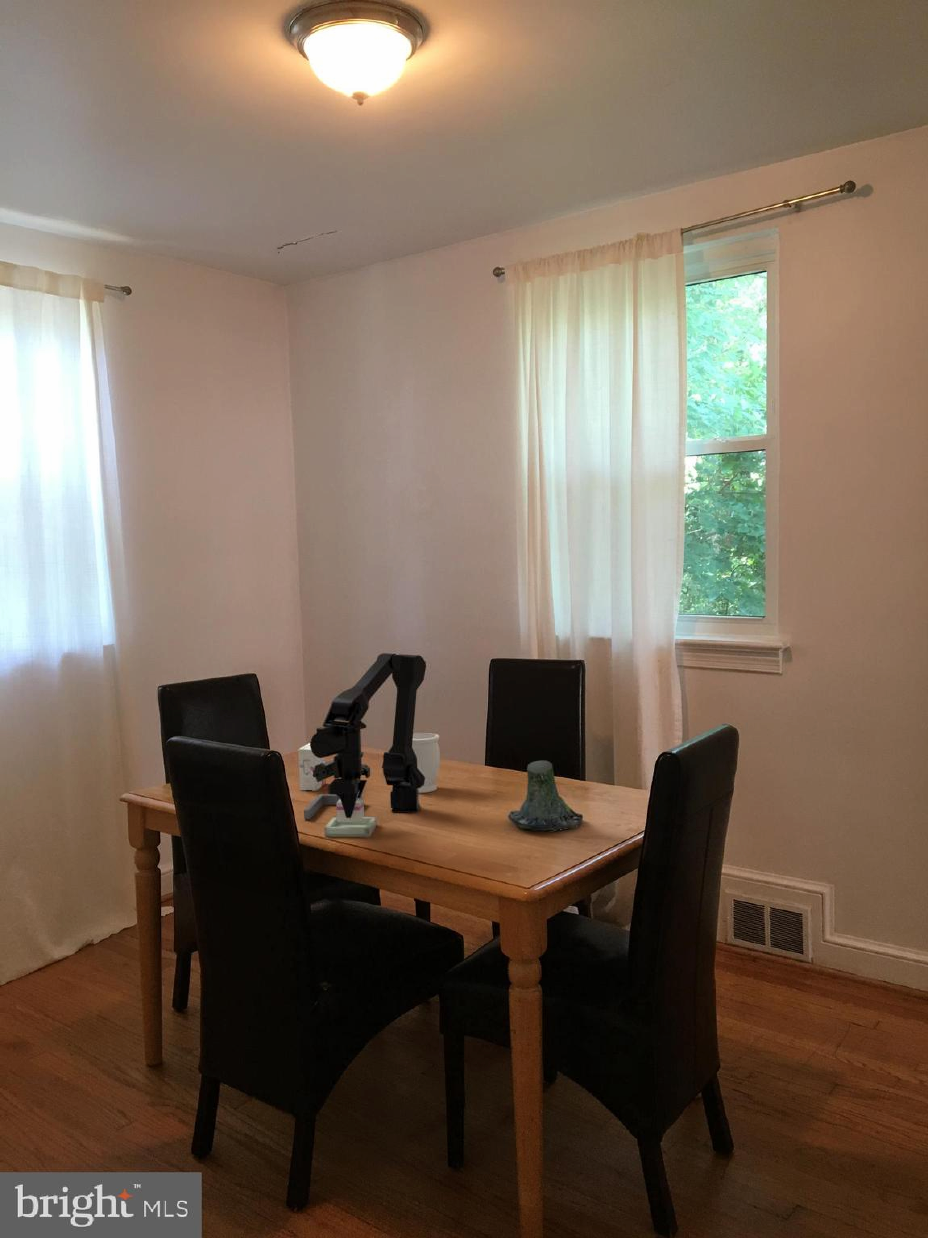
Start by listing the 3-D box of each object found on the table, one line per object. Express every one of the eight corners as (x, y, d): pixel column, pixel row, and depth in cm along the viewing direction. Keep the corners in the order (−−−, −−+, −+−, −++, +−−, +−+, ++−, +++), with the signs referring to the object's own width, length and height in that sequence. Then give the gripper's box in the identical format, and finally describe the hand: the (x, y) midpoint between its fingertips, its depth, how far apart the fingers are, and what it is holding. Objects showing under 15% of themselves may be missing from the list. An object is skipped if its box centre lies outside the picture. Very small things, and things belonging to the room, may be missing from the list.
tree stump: (594, 817, 240) (592, 751, 235) (569, 860, 223) (566, 790, 218) (525, 806, 248) (521, 742, 242) (495, 847, 231) (491, 779, 225)
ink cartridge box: (310, 783, 278) (308, 732, 277) (326, 783, 277) (325, 732, 276) (299, 790, 270) (297, 738, 269) (316, 791, 269) (314, 738, 268)
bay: (362, 804, 254) (362, 794, 254) (349, 820, 239) (349, 810, 239) (319, 803, 256) (319, 794, 255) (304, 820, 241) (303, 810, 240)
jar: (398, 794, 264) (396, 739, 263) (406, 784, 274) (405, 732, 273) (436, 795, 262) (435, 740, 261) (443, 785, 272) (442, 732, 271)
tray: (376, 825, 235) (376, 817, 235) (368, 837, 226) (368, 828, 225) (334, 824, 236) (333, 816, 236) (324, 836, 227) (324, 828, 226)
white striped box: (364, 816, 233) (363, 798, 232) (360, 822, 228) (359, 803, 228) (341, 816, 233) (340, 798, 233) (336, 821, 229) (336, 803, 228)
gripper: (325, 741, 239) (327, 804, 241) (305, 758, 221) (307, 826, 222) (369, 741, 238) (371, 804, 239) (353, 758, 220) (355, 826, 221)
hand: (350, 815), depth 231 cm, fingers closed on white striped box, 4 cm apart
